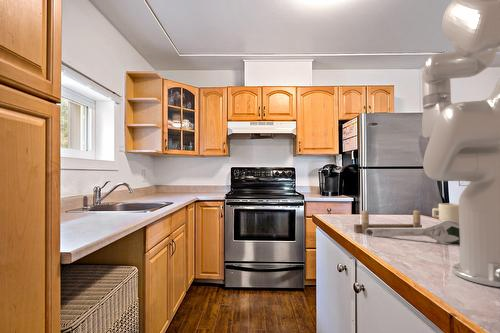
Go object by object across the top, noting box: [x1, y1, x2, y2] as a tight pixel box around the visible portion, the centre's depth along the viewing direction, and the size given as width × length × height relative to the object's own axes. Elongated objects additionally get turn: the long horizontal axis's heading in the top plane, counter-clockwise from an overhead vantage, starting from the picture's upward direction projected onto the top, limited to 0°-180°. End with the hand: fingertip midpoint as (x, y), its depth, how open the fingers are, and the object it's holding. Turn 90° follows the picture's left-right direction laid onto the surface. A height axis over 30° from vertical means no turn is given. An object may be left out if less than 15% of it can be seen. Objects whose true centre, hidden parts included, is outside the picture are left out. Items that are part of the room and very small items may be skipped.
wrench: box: [364, 220, 459, 245], centre depth 97 cm, size 8×2×30 cm
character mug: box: [431, 202, 460, 243], centre depth 94 cm, size 11×7×13 cm, turn 53°
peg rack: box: [353, 209, 423, 236], centre depth 109 cm, size 5×26×9 cm, turn 89°
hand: (438, 158), depth 87 cm, fingers closed
